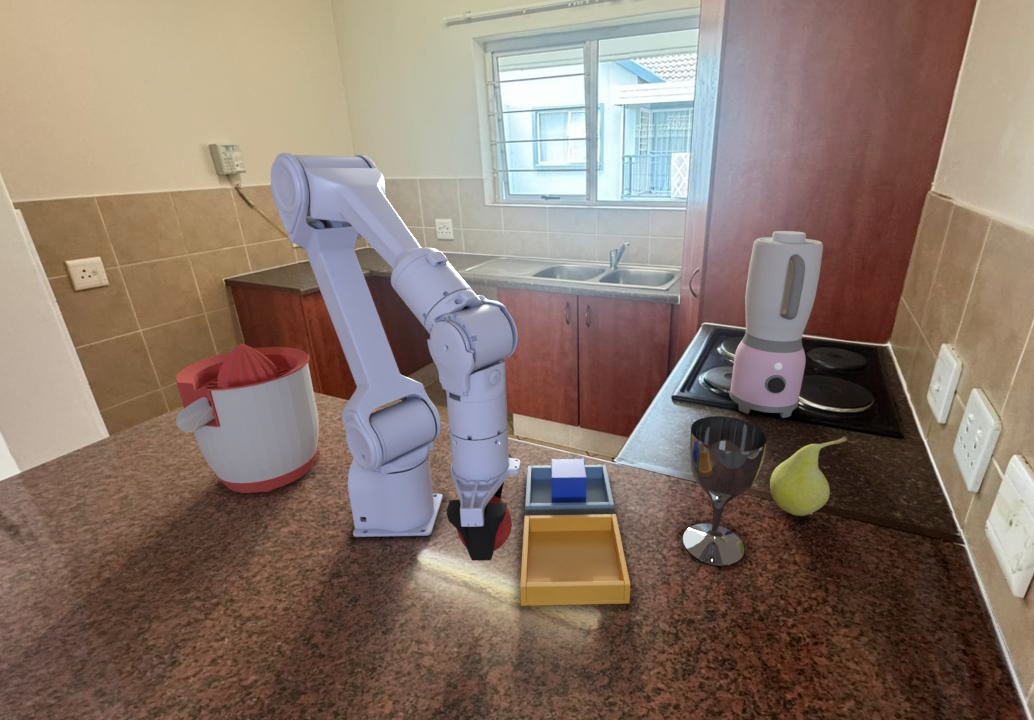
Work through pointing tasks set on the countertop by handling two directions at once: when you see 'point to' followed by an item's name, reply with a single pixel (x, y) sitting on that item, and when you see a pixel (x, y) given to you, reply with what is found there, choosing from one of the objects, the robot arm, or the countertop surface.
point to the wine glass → (722, 480)
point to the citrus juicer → (252, 415)
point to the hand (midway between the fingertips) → (485, 536)
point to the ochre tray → (573, 561)
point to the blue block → (568, 481)
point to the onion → (503, 528)
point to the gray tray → (541, 503)
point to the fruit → (801, 481)
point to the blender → (776, 322)
